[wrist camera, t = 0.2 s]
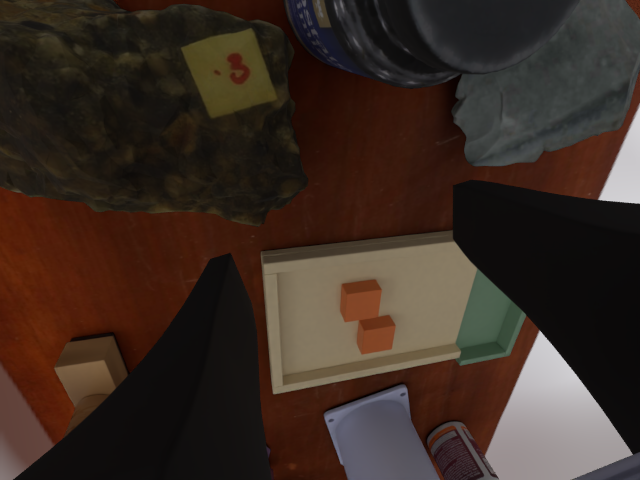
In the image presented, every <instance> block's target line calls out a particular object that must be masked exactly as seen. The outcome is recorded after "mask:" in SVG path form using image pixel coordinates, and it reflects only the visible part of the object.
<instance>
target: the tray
mask: <svg viewBox="0 0 640 480" xmlns="http://www.w3.org/2000/svg"><path fill="white" fill-rule="evenodd" d="M261 261H262V274H263V286H264V298H265V311H266V323H267V335H268V347H269V360H270V372H271V382H272V389H273V394H278V393H283V392H288V391H293V390H298V389H303V388H308V387H313V386H318V385H323V384H328V383H333V382H339V381H344V380H349V379H354V378H359V377H364V376H369V375H374V374H379V373H384V372H389V371H394V370H399V369H404V368H409V367H415V366H420V365H425V364H430V363H435V362H440V361H445V360H450V359H455V358H459V357H460V354H461V350H460V349H459V348H458V346H457V345H456V344H455V343H456V339H457V336H458V333H459V329H460V326H461V322H462V319H463V316H464V312H465V309H466V305H467V302H468V299H469V295H470V292H471V289H472V285H473V282H474V278H475V275H476V272H477V268H476V267H475V266H474V265H473V264H472V263H471V262H470V261H469V259H468V258H467V257H466V256H465V254H464V253H463V252H462V251H461V249H460V248H459V247H458V245H457V244H456V243H455V241H454V240H453V230H450V231H441V232H432V233H423V234H414V235H405V236H396V237H387V238H378V239H369V240H360V241H351V242H342V243H333V244H324V245H315V246H306V247H297V248H288V249H279V250H270V251H261ZM374 279H376V281H377V282H378V284H379V286H380V287H381V289H382V293H381V300H380V308H379V315H378V317H380V316H386V315H390V317H391V318H392V320H393V322H394V323H395V325H396V328H395V334H394V340H393V345H392V349H391V350H385V351H380V352H374V353H369V354H363V355H361V352H360V350H359V348H358V346H357V334H358V324H359V320H357V321H351V322H344V319H343V317H342V315H341V312H340V304H341V287H342V284H345V283H352V282H359V281H367V280H374Z"/></svg>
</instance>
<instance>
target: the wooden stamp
mask: <svg viewBox="0 0 640 480" xmlns="http://www.w3.org/2000/svg"><path fill="white" fill-rule="evenodd" d="M54 369H55V371H56V373H57V375H58V377H59V378H60V380H61V382H62V384H63V386H64V388H65V390H66V391H67V393H68V395H69V397H70V399H71V401H72V403H73V404H74V406H75V410H74V413H73V416H72V418H71V421H70V423H69V426H68V428H67V431H66V433H65V436H66V435H68V434H69V433H70V432H71V431H72V430H73V429H74V428H75V427H76V426H78V425H79V424H80V423H81V422H82V421H83V420H84V419H85V418H86V417H87V416H88V415H89V414H91V413H92V412H93V411H94V410H95V409H96V408H97V407H98V406H99V405H100V404H101V403H102V402H103V401H104V400H105V399H106V398H107V397H108V396H109V395H110V394H111V393H112V392H113V391H114V390H115V389H116V388H117V387H118V386H119V385H120V384H121V382H122V381H123V380H124V379H125V378H126V377H127V376H128V375H129V372H128V370H127V367H126V364H125V362H124V359H123V357H122V354H121V351H120V349H119V346H118V344H117V341H116V338H115V336H114V333H107V334H100V335H93V336H87V337H80V338H73V339H71V341H70V342H68V343H66V345H65V347H64V349H63V351H62V353H61V355H60V357H59V359H58V361H57V363H56V365H55V367H54ZM65 436H64V437H65Z"/></svg>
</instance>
